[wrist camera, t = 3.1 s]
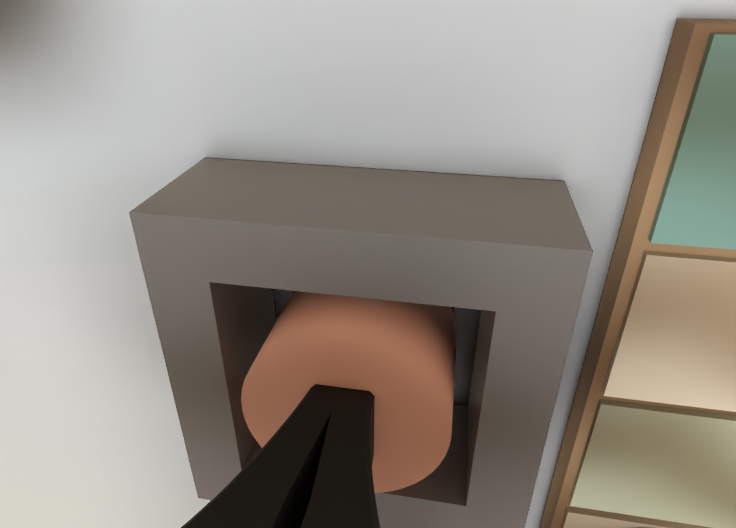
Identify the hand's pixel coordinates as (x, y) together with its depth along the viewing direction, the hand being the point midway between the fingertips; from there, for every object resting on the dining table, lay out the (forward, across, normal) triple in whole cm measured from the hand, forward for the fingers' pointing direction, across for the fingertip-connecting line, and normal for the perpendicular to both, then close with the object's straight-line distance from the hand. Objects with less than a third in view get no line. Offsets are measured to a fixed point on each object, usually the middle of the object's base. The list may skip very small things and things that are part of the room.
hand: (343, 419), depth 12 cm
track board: (+4, -9, +1) cm, 10 cm away
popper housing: (+4, 0, 0) cm, 4 cm away
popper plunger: (+3, 0, 0) cm, 3 cm away
